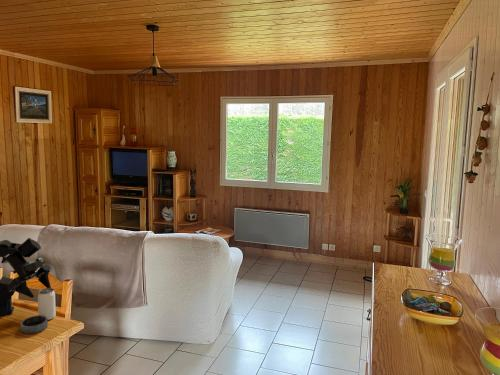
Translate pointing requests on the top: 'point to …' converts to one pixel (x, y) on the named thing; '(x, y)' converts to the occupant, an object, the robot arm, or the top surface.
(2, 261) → the robot arm
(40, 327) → the collar
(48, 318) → the can
